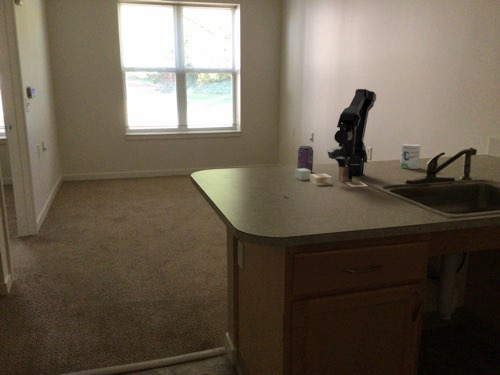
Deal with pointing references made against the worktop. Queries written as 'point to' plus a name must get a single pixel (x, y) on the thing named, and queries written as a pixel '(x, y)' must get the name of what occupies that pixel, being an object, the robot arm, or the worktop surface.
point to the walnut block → (344, 174)
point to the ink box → (410, 156)
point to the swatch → (356, 184)
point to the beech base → (321, 179)
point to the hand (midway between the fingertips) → (345, 176)
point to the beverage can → (305, 157)
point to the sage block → (302, 174)
